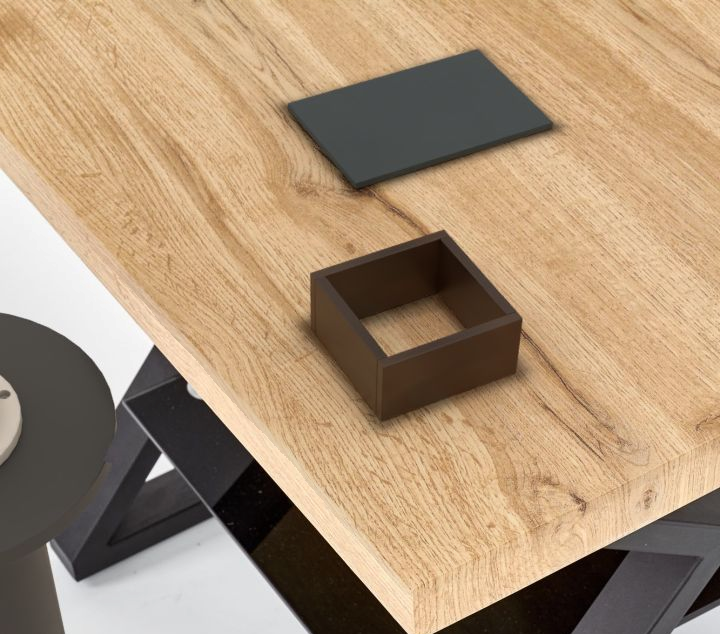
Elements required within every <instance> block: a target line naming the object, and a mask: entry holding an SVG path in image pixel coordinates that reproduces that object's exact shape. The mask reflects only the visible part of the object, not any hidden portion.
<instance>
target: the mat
mask: <svg viewBox="0 0 720 634" xmlns="http://www.w3.org/2000/svg"><path fill="white" fill-rule="evenodd" d="M287 110H288V111H289V112H290V113H291V115H292V116H293V117H294V118H295V120H296V121H297V123H299V124H300V125H301V126H302V128H303V130H305V132H307V133H308V135H309V136H310V137H311V138H312V140H314V142H315V143H316V145H318V146H319V148H320V149H321V150H322V151H323V153H325V155H326V156H327V157H328V158H329V159H330V161H331V162H332V163H333V164H334V165H335V166H336V168H337V169H338V170H339V171H340V172H341V173H342V175H343V176H344V177H345V178H346V179H347V181H348V182H349V183H350V184H351V185H352V187H353V188H354V189H356V190H358V189H361V188H364V187H368V186H370V185H374V184H378V183H380V182H384V181H386V180H391V179H393V178H397V177H400V176H403V175H405V174H409V173H413V172H416V171H419V170H422V169H425V168H428V167H432V166H435V165H438V164H442V163H445V162H447V161H451V160H455V159H458V158H460V157H464V156H467V155H470V154H473V153H477V152H480V151H483V150H487V149H489V148H490V149H491V148H494V147H496V146H499V145H502V144H506V143H509V142H513V141H516V140H519V139H522V138H524V137H528V136H532V135H536V134H538V133H541V132H545V131H548V130H551V129H553V126H554V122H553V120H552V119H550V117H548V116H547V115H546V114H545V113H544V112H543V111H542V110H541V109H540V108H539V107H538V106H537V105H536V104H535V103H534V102H533V101H532V100H531V99H530V98H529V97H528V96H527V95H525V93H524V92H523V91H521V90H520V88H518V86H517V85H515V84H514V83H513V81H511V80H510V78H508V77H507V76H506V75H505V74H504V73H503V72H502V71H501V69H499V68H498V67H497V66H496V65H495V64H494V63H493V62H492V61H491V60H490V59H489V58H488V57H486V55H485V54H484V53H483V52H482V51H481V50H479V49H478V48H476V49H471V50H468V51H466V52H461V53H458V54H454V55H452V56H448V57H444V58H441V59H438V60H435V61H434V60H433V61H430V62H428V63H424V64H420V65H417V66H416V65H415V66H413V67H410V68H407V69H406V68H405V69H403V70H399V71H396V72H392V73H389V74H388V73H387V74H385V75H381V76H378V77H375V78H374V77H373V78H371V79H368V80H363V81H361V82H360V81H359V82H358V83H354V84H350V85H346V86H343V87H340V88H337V89H333V90H329V91H326V92H322V93H319V94H315V95H312V96H308V97H305V98H301V99H298V100H293V101H290V102H288V103H287Z"/></svg>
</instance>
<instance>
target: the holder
mask: <svg viewBox="0 0 720 634" xmlns="http://www.w3.org/2000/svg"><path fill="white" fill-rule="evenodd" d="M309 282H310V283H309V289H310V291H309V293H310V295H309V300H310V303H309V304H310V305H309V306H310V329H311V330H312V332H313V333H314V334H315V336H316V337H317V339H318V340H319V341H320V342H321V344H322V345H323V346H324V348H325V349H326V350H327V352H328V353H329V354H330V356H331V357H332V358H333V360H334V361H335V363H336V364H337V365H338V366H339V368H340V369H341V371H342V372H343V373H344V374H345V375H346V377H347V379H348V380H349V382H350V383H351V384H352V385H353V386H354V387H355V389H356V391H357V392H359V394H360V395H361V398H363V400H364V401H365V402H366V403H367V406H369V408H370V410H372V412H373V413H374V415H376V416H377V418H378V419H379V421H380V422H382V423H383V422H385V421H388V420H391V419H394V418H396V417H398V416H401V415H404V414H407V413H410V412H413V411H415V410H419V409H420V408H423V407H427V406H429V405H431V404H434V403H437V402H440V401H443V400H446V399H449V398H450V397H451V398H452V397H454V396H456V395H459V394H462V393H465V392H467V391H471V390H473V389H476V388H479V387H481V386H484V385H486V384H489V383H493V382H495V381H498V380H501V379H503V378H506V377H509V376H511V375H514V374H516V373H517V371H518V370H517V369H518V362H519V353H520V344H521V337H522V328H523V320H524V319H523V317H522V316H521V315H520V313H519V312H518V311H517V309H515V308H514V306H513V305H512V304H511V303H510V302H509V300H508V299H507V298H506V297H505V296H504V295H503V293H501V292H500V291H499V289H498V287H496V286H495V285H494V284H493V282H492V281H491V280H490V279H489V277H487V276H486V274H485V273H484V272H483V271H482V270H481V269H480V268H479V266H478V265H477V264H475V262H474V261H473V260H472V259H471V257H470V256H469V255H468V254H467V253H466V252H465V251H464V250H463V248H461V246H459V244H458V243H457V242H456V240H454V239H453V237H452V236H450V234H449V233H448V232H447V230H445V229H441V230H437V231H434V232H431V233H428V234H425V235H423V236H419V237H417V238H414V239H410V240H406V241H404V242H401V243H397V244H395V245H392V246H389V247H386V248H381V249H379V250H377V251H376V250H375V251H373V252H370V253H367V254H363V255H361V256H358V257H355V258H351V259H349V260H346V261H343V262H342V261H341V262H339V263H337V264H334V265H331V266H327V267H324V268H322V269H318V270H314V271H312V272H310V273H309ZM434 294H437V296H438V297H439V298H440V299H441V300H442V302H443V303H444V304H445V305H446V306H447V307H448V309H449V310H450V311H451V312H452V313H453V314H454V315H455V317H456V318H457V319H458V321H460V323H461V324H462V325H463V326H464V328H465V329H463V330H460V331H458V332H455V333H452V334H449V335H446V336H443V337H441V338H437V339H435V340H431V341H429V342H426V343H424V344H420V345H418V346H415V347H412V348H409V349H406V350H403V351H400V352H397V353H395V354H391V355H388V354H387V353H386V352H385V350H383V348H382V347H381V345H380V344H379V343H378V342H377V341H376V339H375V338H374V337H373V336H372V334H371V333H370V332H369V331H368V328H367V327H366V326H365V325H364V324H363V322H362V321H361V320H360V319H364V318H367V317H369V316H372V315H375V314H378V313H381V312H385V311H387V310H390V309H393V308H396V307H399V306H402V305H405V304H409V303H411V302H414V301H417V300H420V299H422V298H425V297H428V296H432V295H434Z"/></svg>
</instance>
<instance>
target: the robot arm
mask: <svg viewBox="0 0 720 634" xmlns="http://www.w3.org/2000/svg"><path fill="white" fill-rule="evenodd" d="M22 421H23V420H22V414H21V408H20V404H19V400H18V397H17V394H16V393H15V391H14V390H13V388H12V386H11V385H10V384H9V383H8V382H7V381H6V380H5V379H4V378H3V377H2V376H1V375H0V465H1V464H2V463H3V462H4V461H5V460H6V459H7V458H8V457H9V456H10V454H11V453H12V451H13V450H14V448H15V447H16V445H17V442H18V440H19V437H20V435H21V429H22Z"/></svg>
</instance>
